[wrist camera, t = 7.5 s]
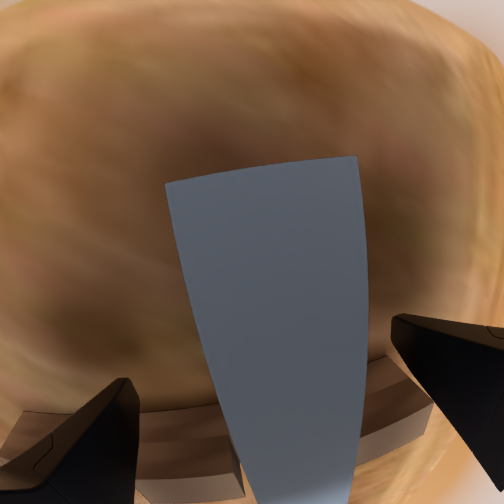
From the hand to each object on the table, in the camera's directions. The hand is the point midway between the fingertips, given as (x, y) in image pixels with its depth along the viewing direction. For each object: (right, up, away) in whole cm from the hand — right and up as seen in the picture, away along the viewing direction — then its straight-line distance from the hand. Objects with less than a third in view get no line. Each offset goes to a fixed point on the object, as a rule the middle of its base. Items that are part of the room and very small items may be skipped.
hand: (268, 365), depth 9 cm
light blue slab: (0, -1, +3) cm, 3 cm away
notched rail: (-4, -5, +3) cm, 7 cm away
